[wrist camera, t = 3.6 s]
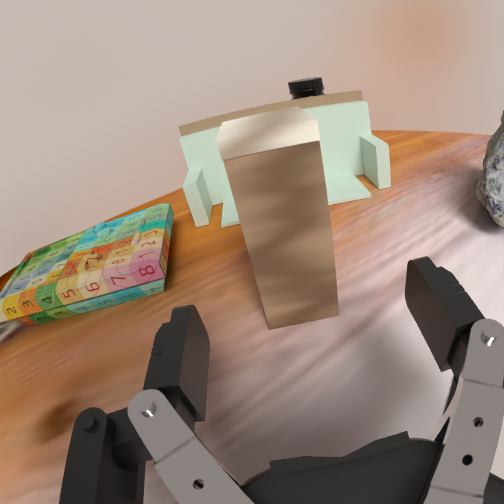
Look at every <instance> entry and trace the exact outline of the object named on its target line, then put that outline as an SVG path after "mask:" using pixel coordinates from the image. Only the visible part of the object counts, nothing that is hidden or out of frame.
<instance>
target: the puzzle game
mask: <svg viewBox="0 0 504 504" xmlns="http://www.w3.org/2000/svg"><path fill="white" fill-rule="evenodd" d="M173 216H174V213H173V210H172V207H171V205H170V204H159V205H156V206H153V207H150V208H147V209H144V210H141V211H138V212H135V213H132V214H129V215H126V216H124V217H121V218H118V219H115V220H112V221H109V222H107V223H105V222H102V223H99V224H97V225H96V226H94V227H93V228H90V229H88V230H85V231H82V232H80V233H77V234H75V235H72V236H69V237H67V238H64V239H62V240H60V241H57V242H54V243H52V244H49V245H47V246H44V247H42V248H39V249H37V250H35V251H33V252H30V253H28V254H27V255H26V256H25V258H24V259H23V261H22V262H21V263H20V265H19V266H18V268H17V269H16V270H15V272H14V273H13V275H12V276H11V278H10V279H9V281H8V282H7V284H6V285H5V287H4V288H3V290H2V291H1V293H0V324H1V323H4V322H8V321H12V320H16V319H17V320H19V321H21V322H22V323H24V324H25V325H38V324H42V323H46V322H50V321H54V320H58V319H62V318H66V317H70V316H74V315H78V314H82V313H86V312H89V311H93V310H97V309H101V308H105V307H109V306H113V305H116V304H120V303H124V302H128V301H132V300H136V299H139V298H143V297H147V296H151V295H154V294H158V293H162V292H164V285H165V277H166V269H167V260H168V252H169V244H170V237H171V230H172V223H173Z"/></svg>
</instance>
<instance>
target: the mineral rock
mask: <svg viewBox="0 0 504 504" xmlns="http://www.w3.org/2000/svg"><path fill="white" fill-rule="evenodd" d="M501 122H502V124H501V125H500V127H499V128H498V130H497V131H496V132H495V134H494V135H492V136H491V138H490V140H489V141H488V144H487V149H486V155H485V158H484V162H483V169H482V173H481V178H480V179H478V183H477V188H476V197H477V199H478V201H479V202H480V203H481V204H482V205H483V206H484V207H485V208H486V209H487V210H488V211H489V213H490V216H491V217H492V218H493V219H494V221H495V222H496V223H497V224H498V225H499V226H502V227H504V111H503V114H502V117H501Z"/></svg>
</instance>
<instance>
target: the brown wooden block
mask: <svg viewBox="0 0 504 504" xmlns="http://www.w3.org/2000/svg"><path fill="white" fill-rule="evenodd" d="M319 140H320V134H319V128H318V122H317V119H316V118H314V117H313V116H311V115H310V114H308V113H307V112H305V111H304V110H302V109H301V108H299V107H298V106H297V107H292V108H286V109H281V110H276V111H271V112H266V113H261V114H256V115H251V116H247V117H242V118H238V119H234V120H230V121H225V122H222V124H221V128H220V131H219V134H218V137H217V140H216V141H217V145H218V148H219V152H220V156H221V159H222V161H223V162H224V166H225V169H226V173H227V177H228V180H229V184H230V188H231V191H232V195H233V199H234V202H235V206H236V210H237V213H238V217H239V221H240V224H241V228H242V231H243V235H244V239H245V242H246V246H247V250H248V253H249V257H250V261H251V264H252V268H253V271H254V275H255V279H256V282H257V286H258V290H259V293H260V297H261V300H262V304H263V308H264V311H265V315H266V319H267V322H268V326H269V329H275V328H280V327H285V326H290V325H295V324H300V323H305V322H309V321H314V320H319V319H323V318H328V317H332V316H337V315H339V312H338V297H337V284H336V271H335V260H334V250H333V240H332V230H331V221H330V213H329V205H328V197H327V189H326V182H325V175H324V168H323V161H322V154H321V148H320V142H319Z"/></svg>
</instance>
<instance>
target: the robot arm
mask: <svg viewBox="0 0 504 504" xmlns="http://www.w3.org/2000/svg"><path fill="white" fill-rule="evenodd" d="M405 299H406V303H407V306H408V308H409V310H410V312H411V314H412V316H413V318H414V319H415V321H416V323H417V325H418V327H419V329H420V331H421V333H422V335H423V336H424V338H425V340H426V342H427V344H428V346H429V348H430V350H431V352H432V354H433V356H434V358H435V360H436V362H437V364H438V366H439V369H440V371H441V372H443V371H446V370H448V369H451V370H452V372H453V377H452V380H451V383H450V387H449V391H448V394H447V398H446V401H445V404H444V408H443V411H442V414H441V417H440V420H439V422H438V425H437V427H436V429H435V431H434V434H433V436H432V438H431V440H428V439H422V438H409V435H408V432H407V431H405V432H402V433H399V434H396V435H392V436H389V437H386V438H382V439H379V440H375V441H373V442H371V443H369V444H368V445H366V446H364V447H362V448H360V449H358V450H356V451H354V452H352V453H350V454H348V455H346V456H343V457H312V456H302V457H296V458H289V459H282V460H275V461H270V469H268V470H265V471H263V472H261V473H259V474H257V475H256V476H254V477H252V478H251V479H249V480H248V481H247V482H245V483H244V484H243V485H241V484H240V483H239V482H238V481H237V480H236V479H235V478H234V477H233V475H232V474H231V473H230V472H229V471H228V470H227V469H226V468H225V467H224V466H223V465H222V464H221V463H220V461H219V460H218V459H217V458H216V457H215V456H214V455H213V453H212V452H211V451H210V450H209V449H208V448H207V446H206V445H205V444H204V443H203V442H202V440H201V439H200V438H199V437H198V435H197V434H196V433H195V432H194V425H195V422H196V421H205V409H206V393H207V379H208V365H209V352H210V343H209V337H208V334H207V331H206V329H205V327H204V324H203V322H202V320H201V318H200V316H199V313H198V311H197V309H196V307H195V306H194V305H187V306H182V307H176V308H174V309H173V311H172V315H171V320H170V322H168V323H163V324H162V326H161V327H160V329H159V330H158V332H157V333H156V336H155V340H154V344H153V346H154V347H153V348H152V352H151V357H150V361H149V365H148V370H147V374H146V379H145V383H144V388H143V391H141V392H139V393H138V394H136V395H135V396H134V397H133V398H132V400H131V401H130V403H129V405H128V407H127V408H124V409H121V410H118V411H115V412H112V413H109V414H106V413H105V412H104V411H103V410H101V409H99V408H96V407H92V408H88V409H86V410H84V411H83V412H81V413H80V414H79V416H78V417H77V419H76V421H75V424H74V428H73V432H72V436H71V441H70V446H69V450H68V455H67V460H66V465H65V471H64V476H63V482H62V488H61V494H60V501H59V504H143V497H144V479H145V465H146V461H149V460H152V459H154V460H155V463H154V467H155V469H156V471H157V473H158V474H159V476H160V477H161V479H162V480H163V482H164V483H165V485H166V486H167V487H168V489H169V490H170V492H171V493H172V495H173V496H174V497H175V499H176V500H177V501H178V503H179V504H504V480H503V479H501V478H499V477H498V476H496V475H494V474H492V473H490V470H491V466H492V463H493V459H494V455H495V451H496V448H497V444H498V439H499V435H500V431H501V425H502V421H503V416H504V327H503V326H502V325H501V324H500V323H499V322H497V321H495V320H492V319H485V317H484V316H483V314H482V313H481V312H480V310H479V309H478V307H477V306H476V305H475V303H474V302H473V300H472V299H471V298H470V296H469V295H468V294H467V292H465V289H464V288H463V287H462V286H461V284H459V282H458V280H457V279H456V278H455V276H454V275H453V274H452V273H451V272H449V271H448V270H446V269H445V268H443V267H442V266H441V267H436V266H435V265H434V263H433V262H432V261H431V259H430V258H429V257H427V256H426V257H422V258H418V259H413V260H410V261H408V264H407V275H406V286H405Z"/></svg>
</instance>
